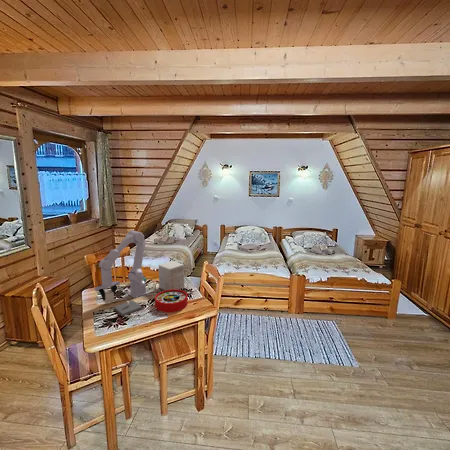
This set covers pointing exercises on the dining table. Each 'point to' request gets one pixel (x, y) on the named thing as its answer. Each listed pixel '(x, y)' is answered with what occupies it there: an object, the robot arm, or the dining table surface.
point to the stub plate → (127, 308)
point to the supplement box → (171, 276)
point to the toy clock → (171, 300)
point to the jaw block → (109, 296)
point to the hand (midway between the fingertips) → (108, 298)
